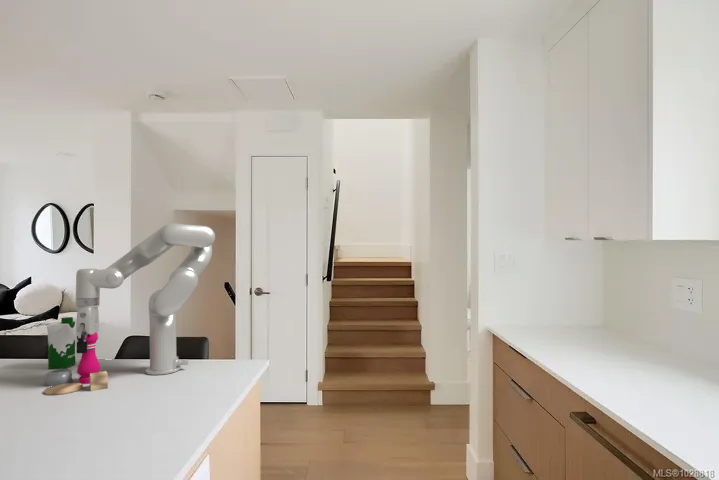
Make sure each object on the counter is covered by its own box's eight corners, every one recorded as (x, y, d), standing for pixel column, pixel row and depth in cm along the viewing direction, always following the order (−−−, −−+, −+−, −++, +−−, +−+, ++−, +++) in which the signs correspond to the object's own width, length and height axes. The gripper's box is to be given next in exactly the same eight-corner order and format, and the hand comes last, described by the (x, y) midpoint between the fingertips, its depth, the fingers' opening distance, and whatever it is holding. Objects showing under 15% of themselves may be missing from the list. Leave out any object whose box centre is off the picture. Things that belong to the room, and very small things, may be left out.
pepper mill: (89, 384, 162) (89, 328, 162) (72, 383, 163) (71, 327, 164) (105, 378, 169) (104, 324, 169) (88, 378, 170) (87, 324, 171)
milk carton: (68, 369, 184) (67, 319, 184) (44, 370, 183) (43, 320, 183) (79, 363, 193) (78, 316, 193) (56, 364, 192) (55, 316, 192)
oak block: (106, 385, 161) (106, 370, 161) (107, 388, 157) (107, 374, 157) (89, 387, 159) (89, 373, 159) (90, 391, 154) (90, 376, 154)
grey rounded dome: (75, 379, 170) (74, 368, 170) (67, 385, 162) (67, 373, 162) (50, 381, 167) (50, 370, 167) (41, 387, 160) (41, 376, 160)
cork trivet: (87, 383, 163) (87, 381, 163) (76, 393, 152) (76, 391, 152) (52, 386, 160) (52, 384, 160) (38, 396, 149) (38, 394, 149)
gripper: (91, 305, 159) (90, 354, 158) (106, 300, 176) (105, 345, 175) (67, 305, 157) (65, 355, 157) (84, 300, 174) (83, 345, 173)
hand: (86, 350), depth 166 cm, fingers open, 9 cm apart
